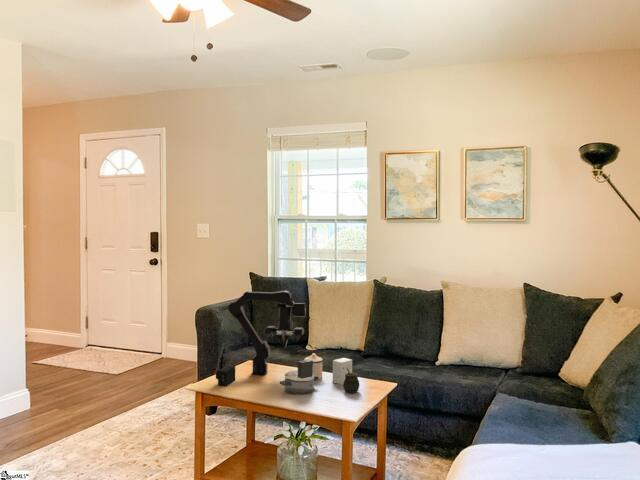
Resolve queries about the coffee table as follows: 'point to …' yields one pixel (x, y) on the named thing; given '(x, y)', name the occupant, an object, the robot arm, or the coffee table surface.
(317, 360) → the teacup with lid
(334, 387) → the coffee table surface
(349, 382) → the mate gourd
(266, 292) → the robot arm
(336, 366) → the small box
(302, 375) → the lid
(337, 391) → the coffee table surface
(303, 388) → the pot
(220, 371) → the digital camera
